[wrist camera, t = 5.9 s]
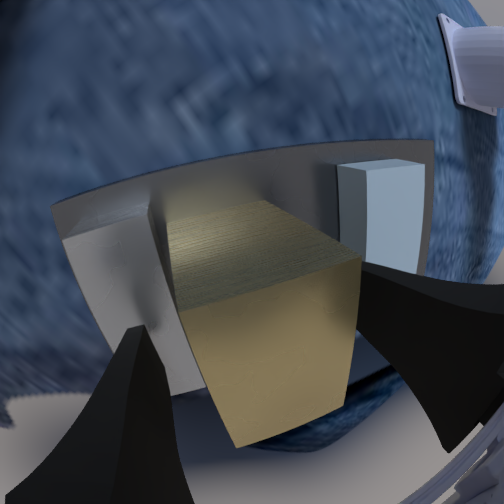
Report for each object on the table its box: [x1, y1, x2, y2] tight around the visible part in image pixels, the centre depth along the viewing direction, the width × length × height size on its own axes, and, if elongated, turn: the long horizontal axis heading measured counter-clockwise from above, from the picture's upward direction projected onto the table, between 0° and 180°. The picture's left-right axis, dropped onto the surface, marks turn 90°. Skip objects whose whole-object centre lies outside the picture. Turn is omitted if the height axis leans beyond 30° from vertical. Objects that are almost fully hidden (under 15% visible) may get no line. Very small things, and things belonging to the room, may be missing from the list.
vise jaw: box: [337, 159, 425, 274], centre depth 13 cm, size 4×8×2 cm, turn 9°
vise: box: [50, 139, 434, 396], centre depth 12 cm, size 20×10×3 cm, turn 99°
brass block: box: [166, 200, 362, 448], centre depth 9 cm, size 4×6×6 cm, turn 9°
